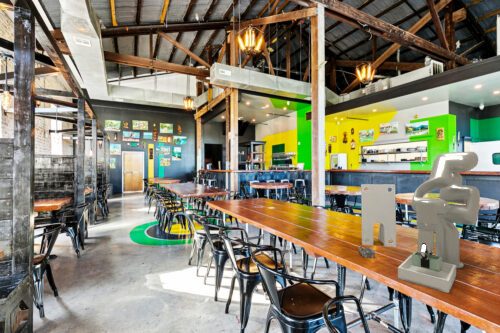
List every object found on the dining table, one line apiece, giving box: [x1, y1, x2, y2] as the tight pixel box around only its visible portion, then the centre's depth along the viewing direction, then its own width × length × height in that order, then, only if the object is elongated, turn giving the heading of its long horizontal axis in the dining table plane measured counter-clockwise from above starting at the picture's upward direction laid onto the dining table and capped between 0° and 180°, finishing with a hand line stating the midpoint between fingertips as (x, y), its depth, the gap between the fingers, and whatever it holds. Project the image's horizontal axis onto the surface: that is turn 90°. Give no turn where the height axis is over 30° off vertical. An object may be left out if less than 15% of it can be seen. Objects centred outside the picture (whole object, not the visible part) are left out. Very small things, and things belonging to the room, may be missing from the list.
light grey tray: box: [397, 254, 457, 294], centre depth 109 cm, size 22×18×5 cm
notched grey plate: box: [360, 183, 397, 248], centre depth 160 cm, size 20×14×40 cm
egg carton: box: [358, 245, 376, 259], centre depth 138 cm, size 11×8×4 cm
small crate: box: [411, 250, 442, 272], centre depth 109 cm, size 6×10×5 cm, turn 43°
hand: (426, 265), depth 109 cm, fingers closed on small crate, 6 cm apart
